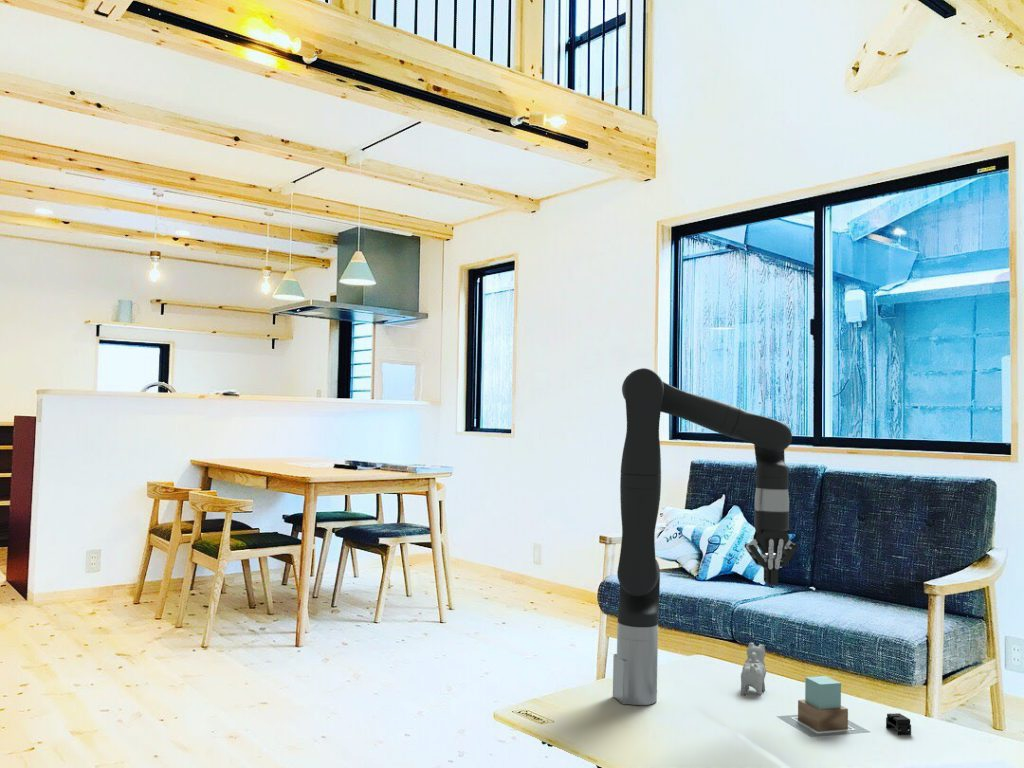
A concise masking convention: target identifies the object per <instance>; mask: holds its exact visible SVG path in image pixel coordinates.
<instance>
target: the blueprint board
mask: <svg viewBox="0 0 1024 768" xmlns="http://www.w3.org/2000/svg"><path fill="white" fill-rule="evenodd" d="M776 717H777V718H779V719H780V720H782V721H784V722H785V723H787V724H788V725H790V726H792V727H793V728H795V729H797V730H799V731H800V732H801V733H803V734H805V735H807V736H808V737H810V738H815V737H816V738H817V737H827V736H828V737H829V736H839V735H852V734H864V733H871V731H870V730H868V729H866V728H864V727H862V726H860V725H858V724H856V723H854V722H853V721H851V720H849V719H848V729H838V730H826V731H817V730H816V729H814V728H812V727H811V726H809V725H807V724H805V723H804V722H802V721H800V720H798V714H788V715H777V716H776Z"/></svg>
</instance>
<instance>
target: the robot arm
mask: <svg viewBox="0 0 1024 768" xmlns="http://www.w3.org/2000/svg"><path fill="white" fill-rule="evenodd" d="M621 392H622V396H623V399H624V400H625V409H626V410H625V414H626V416H625V417H626V432H625V438H624V439H625V440H624V443H623V444H624V445H623V447H622V448H623V450H622V455H621V463H620V464H621V465H620V479H619V480H620V484H619V485H620V486H619V488H620V489H619V491H620V492H619V493H620V494H619V495H620V498H619V499H620V517H621V527H622V528H621V529H622V530H621V545H620V553H619V559H618V567H617V574H616V575H617V580H618V582H619V591H618V592H619V598H618V605H617V606H618V608H617V631H616V632H617V633H616V635H617V636H616V637H617V638H616V653H614V654H613V659H612V660H613V663H612V664H613V665H612V696H613V698H615V699H616V701H617V700H619V702H620V703H621V704H622V705H633V706H648V705H653V704H655V703H657V699H658V697H657V696H658V655H659V654H658V651H659V650H658V648H659V647H658V645H659V644H658V643H659V642H658V641H659V615H660V613H659V612H660V610H659V609H660V589H661V587H660V584H661V571H660V570H661V569H660V565H659V562H658V560H657V558H656V544H655V543H656V542H655V540H656V539H655V538H656V537H655V534H656V526H657V521H658V515H659V509H660V504H661V503H660V501H661V492H662V489H661V488H662V487H661V486H662V462H661V461H662V458H661V456H662V455H661V442H660V421H661V413H665V414H667V415H672V416H674V417H677V418H681V419H683V420H686V421H688V422H690V423H693V424H695V425H698V426H700V427H703V428H705V429H707V430H710V431H713V432H716V433H718V434H721V435H724V436H726V437H729V438H732V439H736V440H740V441H741V440H742V441H745V442H748V443H750V444H753V447H754V456H755V462H756V474H755V475H756V477H755V493H754V521H753V522H754V523H753V524H754V525H753V527H754V534H753V537H752V540H751V541H749V543H748V542H747V543H746V542H745V544H744V546H743V547H744V549H745V550H746V552H747V553H748V555H749V556H750V557H751V559H752V560H753V562H754V563H755V565H757V566H760V567H762V568H763V582H764V583H765V585H766V586H769V587H776V586H777V584H778V583H779V569H780V568H781V567H786V566H787V564H788V563H789V561H790V560H791V558H792V557H793V556H794V554H796V551H797V550H798V548H799V546H798V544H797V543H793V541H791V540H790V536H789V533H788V530H789V529H790V528H789V527H790V495H789V468H788V466H787V464H786V462H785V460H786V459H785V450H786V449H787V448H789V446H790V445H791V444H792V440H793V434H792V431H791V429H790V427H789V426H788V425H787V424H786V423H784V422H783V421H780V420H777V419H773V418H771V417H767V416H763V415H760V414H756V413H752V412H749V411H747V410H746V409H743V408H741V407H737V406H735V405H732V404H730V403H726V402H725V401H724V402H723V401H722V400H721V401H720V400H717V399H713V398H710V397H707V396H702V395H700V394H699V395H698V394H694V393H690V392H687V391H686V390H681V389H679V388H677V387H675V386H673V385H670V384H669V383H666V382H665V381H664V380H662V378H661V376H660V374H658V373H657V372H656V371H654V370H653V369H650V368H646V367H644V368H643V367H641V368H638V369H635V370H633V371H631V372H630V373H629V374H628V375H627V376H626V377H625V378H624V380H623V383H622V386H621ZM759 551H760V552H759Z"/></svg>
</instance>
